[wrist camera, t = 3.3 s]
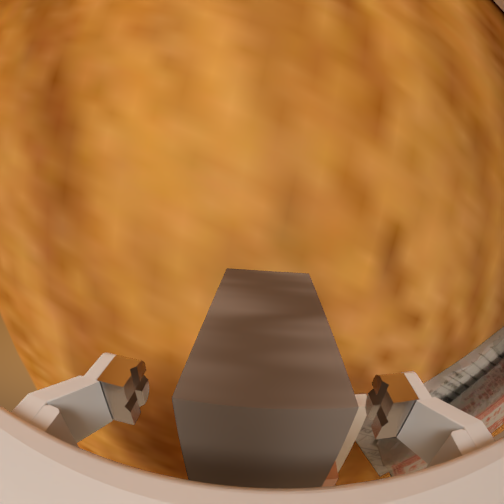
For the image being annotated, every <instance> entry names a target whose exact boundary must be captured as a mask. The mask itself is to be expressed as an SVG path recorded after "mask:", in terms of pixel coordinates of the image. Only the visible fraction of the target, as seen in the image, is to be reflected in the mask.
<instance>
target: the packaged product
mask: <svg viewBox="0 0 504 504" xmlns="http://www.w3.org/2000/svg"><path fill="white" fill-rule="evenodd" d="M424 386H425V387H426V389H427V390H428V392H429V394H430V395H431V397H436V398H438V399H440V400H442V401H444V402H446V403H448V404H450V405H452V406H454V407H456V408H458V409H460V410H461V411H463V412H465V413H467V414H469V415H471V416H473V417H475V418H477V419H479V420H481V421H482V422H483V423H484V425H485V426H486V428H487V429H488V431H489V432H490V434H491V433H492V432H493V431H495V430H496V429H497V428H499V427H500V426H501V425H502V424H504V327H502V328H501V329H500V330H499V331H497V332H496V333H495V334H494V335H492V336H491V337H490V338H489V339H487V340H486V341H485V342H483V343H482V344H481V345H480V346H478V347H477V348H476V349H474V350H473V351H472V352H470V353H469V354H468V355H466V356H465V357H463V358H462V359H461V360H459V361H458V362H456V363H455V364H453V365H452V366H450V367H449V368H447V369H446V370H444V371H443V372H441V373H440V374H438V375H437V376H435V377H433V378H432V379H430V380H429V381H427V382H426V383H424ZM372 423H373V421H372V420H371V419H369V418H368V417H367V416H366V418H365V420H364V423H363V425H362V427H361V429H360V431H359V434H358V436H357V438H356V440H355V441H356V442H357V444H358V445H359V447H360V448H361V450H362V451H363V453H364V454H365V456H366V457H367V459H368V460H369V461H370V463H371V464H372V466H373V468H374V469H375V470H376V472H377V473H378V475H379V477H380V476H382V475H384V474H386V473H387V472H389V473H390V475H391V477H393V476H397V475H401V474H405V473H409V472H413V471H417V470H420V469H424V468H426V467H427V465H428V464H427V463H426V462H425V461H424V460H423V459H421V458H420V457H419V456H418V455H417V454H415V453H414V452H413V451H412V450H411V449H409V448H408V447H407V446H406V445H405V444H404V443H402V442H401V441H400V440H399V439H398V438H397V437H390V438H383V439H375V436H374V434H373V431H372V428H371V425H372Z"/></svg>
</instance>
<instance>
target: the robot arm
mask: <svg viewBox="0 0 504 504" xmlns="http://www.w3.org/2000/svg"><path fill="white" fill-rule="evenodd" d="M494 2H495V3H496V4H497V5H498V6H499V7H500V8H501V9H502V10H503V12H504V0H494ZM145 372H146V366H145V363H144V362H143V361H142V360H137V359H133V358H129V357H124V356H120V355H115V354H111V353H107V352H106V353H103V354H102V355H101V356H100V357H99V359H98V360H97V361H96V362H95V363H94V364H93V366H92V367H91V368H90V369H89V370H88V372H87V373H86V374H85V375H84V376H77V377H74V378H72V379H69V380H66V381H63V382H61V383H58V384H55V385H52V386H49V387H46V388H43V389H40V390H37V391H35V392H32V393H29V394H28V395H27V396H26V397H25V398H24V399H23V400H22V401H21V402H20V403H19V404H18V405H17V406H16V408H15V409H14V410H13V411H12V412H9V411H8V410H6V409H5V408H3V407H2V406H0V504H504V437H503V438H501V439H499V440H497V441H495V440H494V438H493V437H492V435H491V434H490V432H489V431H488V429H487V428H486V426H485V425H484V423H483V422H482V421H481V420H479V419H477V418H475V417H473V416H471V415H469V414H467V413H465V412H463V411H461V410H460V409H458V408H456V407H454V406H452V405H450V404H448V403H446V402H444V401H442V400H440V399H438V398H436V397H431V395H430V394H429V392H428V390H427V389H426V387H425V386H424V384H423V383H422V381H421V380H420V378H419V377H418V375H417V374H416V373H415V372H414V371H409V372H401V373H395V374H384V375H376V376H375V377H374V379H373V382H372V386H373V388H374V389H373V390H371V391H370V392H369V393H368V396H367V398H366V405H365V409H366V414H367V417H368V418H369V419H371V420H372V421H373V423H372V425H371V428H372V431H373V434H374V436H375V439H383V438H390V437H397V438H398V439H399V440H400V441H401V442H402V443H404V444H405V445H406V446H407V447H408V448H409V449H411V450H412V451H413V452H414V453H415V454H417V455H418V456H419V457H420V458H421V459H423V460H424V461H425V462H426V463H427V464H428V465H427V467H426V468H424V469H420V470H417V471H413V472H409V473H405V474H401V475H397V476H393V477H388V478H383V479H378V480H372V481H367V482H360V483H354V484H346V485H337V486H327V487H314V488H251V487H237V486H227V485H218V484H210V483H203V482H197V481H191V480H185V479H180V478H175V477H170V476H166V475H162V474H157V473H153V472H149V471H146V470H142V469H138V468H135V467H131V466H128V465H125V464H122V463H119V462H116V461H113V460H110V459H107V458H104V457H101V456H99V455H96V454H93V453H91V452H88V451H86V450H83V449H81V448H79V447H78V445H77V442H79V441H81V440H82V439H84V438H86V437H87V436H89V435H91V434H92V433H94V432H96V431H97V430H99V429H100V428H102V427H104V426H105V425H107V424H108V423H110V422H111V421H113V420H116V421H120V422H124V423H128V424H132V425H135V423H136V421H137V419H138V417H139V415H140V413H141V411H140V406H142V405H144V404H145V403H146V401H147V399H148V395H149V382H148V379H147V378H146V377H145V376H144V373H145ZM112 419H113V420H112Z"/></svg>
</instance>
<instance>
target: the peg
mask: <svg viewBox="0 0 504 504" xmlns="http://www.w3.org/2000/svg"><path fill="white" fill-rule="evenodd" d="M172 402H173V408H174V413H175V419H176V424H177V430H178V435H179V440H180V444H181V449H182V454H183V458H184V462H185V467H186V471H187V475H188V479H189V480H191V481H197V482H203V483H210V484H218V485H227V486H237V487H251V488H314V487H322V485H323V483H324V481H325V480H326V478H327V476H328V474H329V472H330V470H331V468H332V466H333V464H334V462H335V460H336V458H337V456H338V454H339V452H340V450H341V448H342V446H343V443H344V441H345V439H346V437H347V434H348V432H349V430H350V428H351V425H352V423H353V420H354V418H355V416H356V413H357V411H358V408H359V406H358V403H357V400H356V397H355V394H354V391H353V389H352V386H351V383H350V380H349V377H348V374H347V372H346V369H345V366H344V363H343V361H342V358H341V355H340V352H339V350H338V347H337V344H336V342H335V339H334V336H333V334H332V331H331V329H330V326H329V323H328V321H327V318H326V316H325V313H324V311H323V308H322V305H321V303H320V300H319V298H318V295H317V293H316V290H315V288H314V285H313V283H312V280H311V278H310V276H309V274H306V273H289V272H272V271H257V270H242V269H226V272H225V274H224V276H223V279H222V281H221V283H220V285H219V288H218V290H217V292H216V295H215V297H214V299H213V302H212V304H211V306H210V308H209V311H208V313H207V315H206V318H205V320H204V322H203V325H202V327H201V329H200V332H199V334H198V336H197V339H196V341H195V344H194V346H193V348H192V351H191V353H190V355H189V358H188V360H187V362H186V365H185V367H184V370H183V372H182V374H181V377H180V379H179V382H178V384H177V386H176V389H175V391H174V394H173V396H172Z"/></svg>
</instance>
